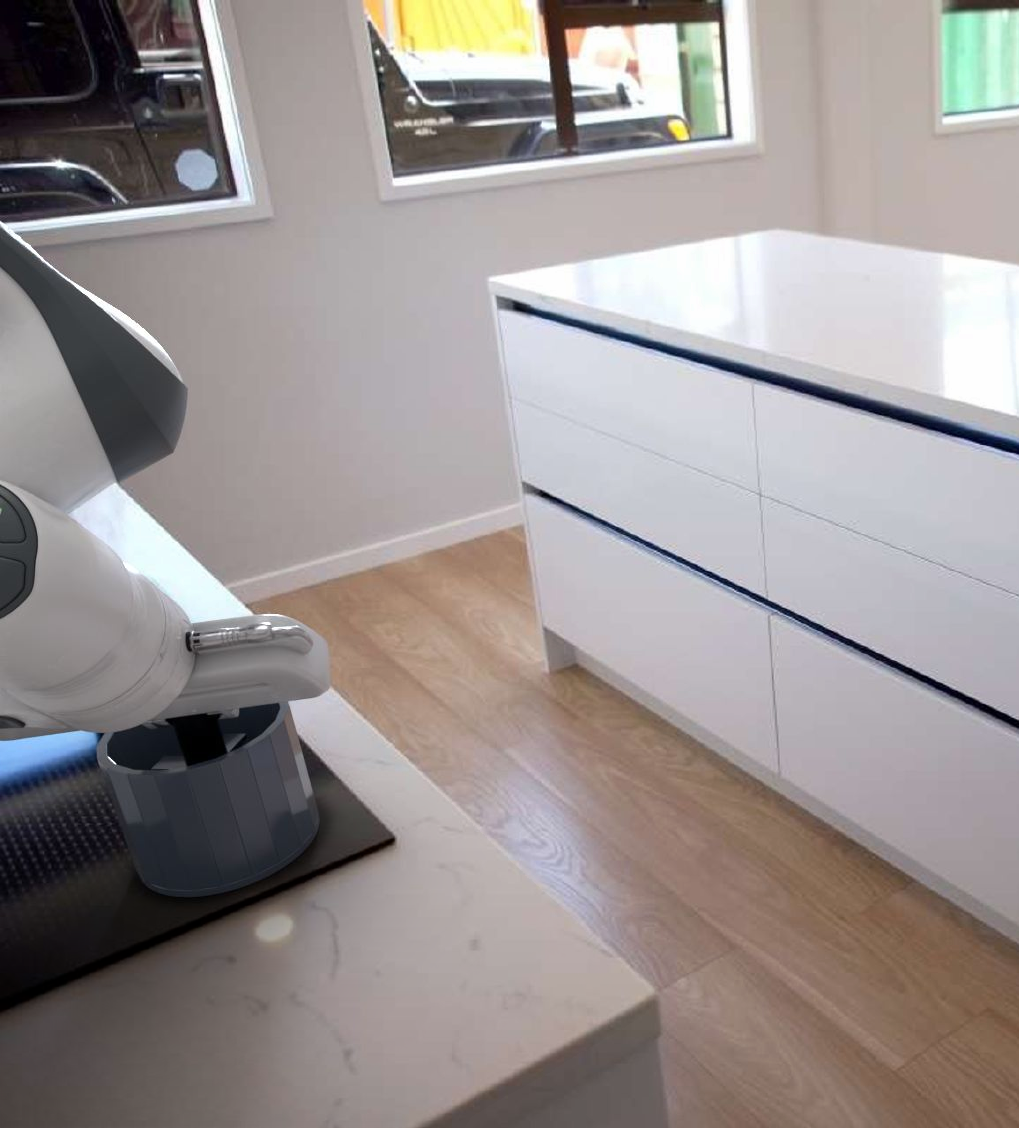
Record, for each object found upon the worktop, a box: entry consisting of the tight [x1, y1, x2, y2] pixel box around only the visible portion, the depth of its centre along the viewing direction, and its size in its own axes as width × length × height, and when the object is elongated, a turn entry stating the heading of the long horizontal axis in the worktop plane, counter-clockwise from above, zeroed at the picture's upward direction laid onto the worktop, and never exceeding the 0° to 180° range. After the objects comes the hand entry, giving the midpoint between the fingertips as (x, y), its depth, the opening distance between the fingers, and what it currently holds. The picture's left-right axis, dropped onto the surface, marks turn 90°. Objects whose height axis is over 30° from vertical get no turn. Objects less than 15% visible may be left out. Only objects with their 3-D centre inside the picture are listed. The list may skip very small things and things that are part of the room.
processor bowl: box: [96, 701, 321, 898], centre depth 87 cm, size 12×12×10 cm
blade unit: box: [151, 713, 248, 771], centre depth 85 cm, size 7×7×10 cm
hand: (195, 711), depth 85 cm, fingers closed on blade unit, 2 cm apart
